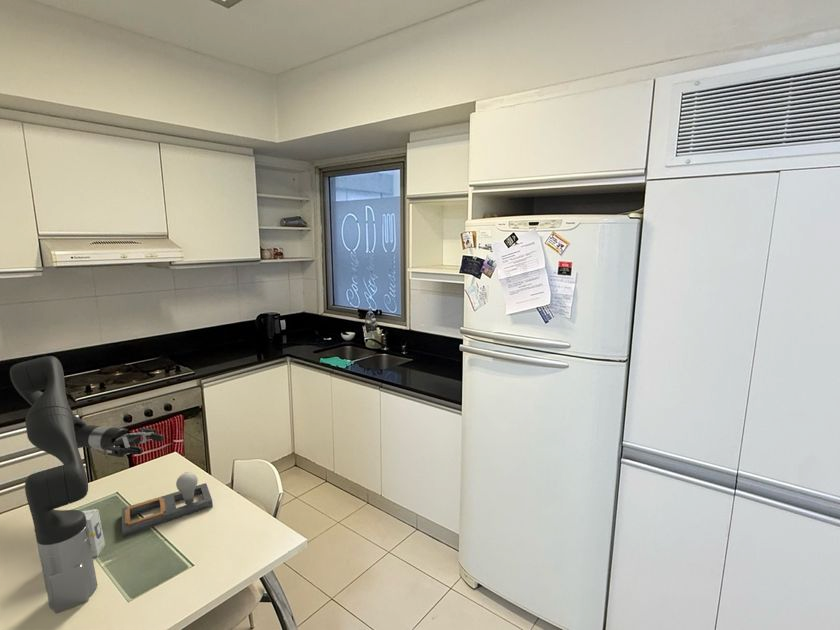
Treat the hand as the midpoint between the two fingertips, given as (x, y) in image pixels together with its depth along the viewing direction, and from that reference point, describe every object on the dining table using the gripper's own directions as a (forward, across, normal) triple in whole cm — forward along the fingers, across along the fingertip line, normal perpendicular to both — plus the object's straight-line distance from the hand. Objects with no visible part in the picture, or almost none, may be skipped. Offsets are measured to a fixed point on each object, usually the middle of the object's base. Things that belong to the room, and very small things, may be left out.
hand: (152, 444), depth 138 cm
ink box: (-1, -25, +20) cm, 32 cm away
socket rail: (+8, -4, +20) cm, 22 cm away
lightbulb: (+12, 0, +20) cm, 23 cm away
